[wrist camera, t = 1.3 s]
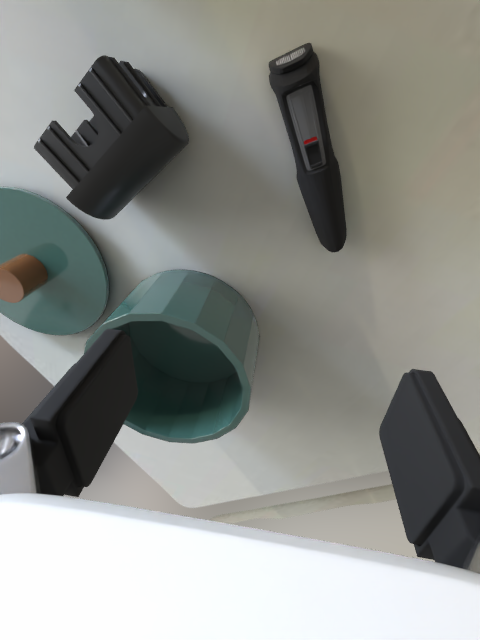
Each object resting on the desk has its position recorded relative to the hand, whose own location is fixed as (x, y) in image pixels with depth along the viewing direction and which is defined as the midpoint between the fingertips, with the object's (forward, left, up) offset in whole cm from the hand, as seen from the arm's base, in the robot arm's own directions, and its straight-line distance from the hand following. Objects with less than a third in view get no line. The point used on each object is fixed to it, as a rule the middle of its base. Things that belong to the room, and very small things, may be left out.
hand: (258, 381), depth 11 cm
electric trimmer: (-2, +5, -24) cm, 24 cm away
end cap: (-14, -6, -24) cm, 28 cm away
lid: (-15, -25, -23) cm, 37 cm away
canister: (+3, -18, -24) cm, 30 cm away
